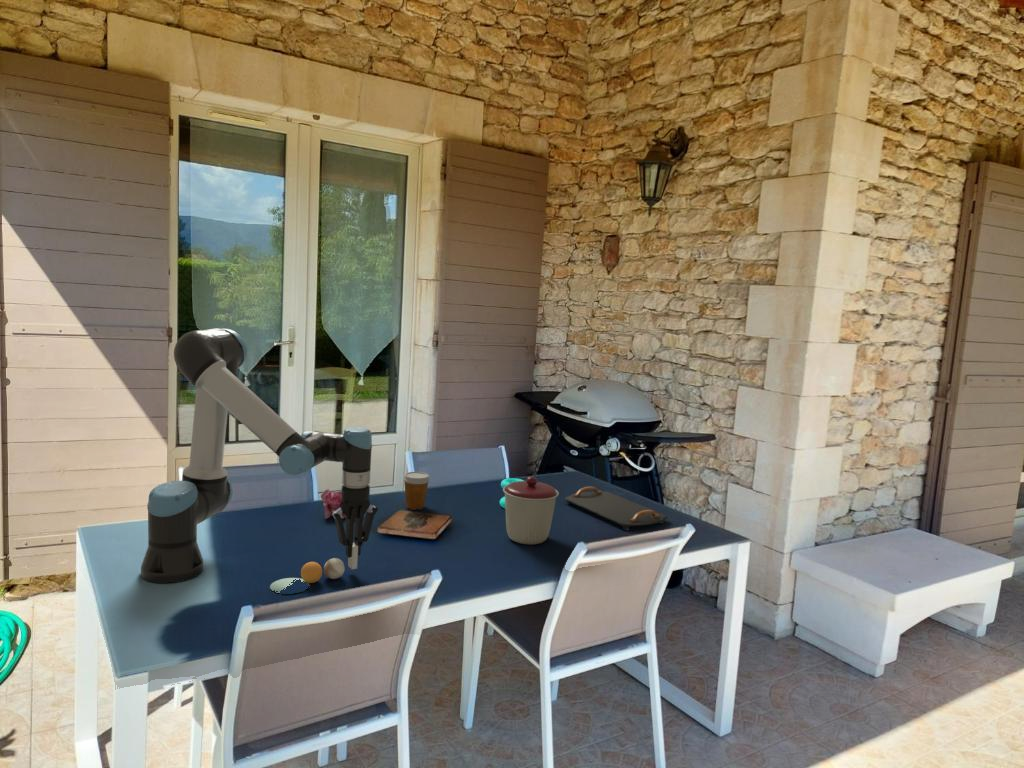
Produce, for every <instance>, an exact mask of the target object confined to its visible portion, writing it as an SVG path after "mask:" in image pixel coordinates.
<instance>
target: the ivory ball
mask: <svg viewBox="0 0 1024 768" xmlns="http://www.w3.org/2000/svg"><path fill="white" fill-rule="evenodd" d="M345 568H346V567H345V563H344V562H343V560H342V559H340V558H338V557H332V558H330V559H328V560H327V561H326V562H325V564H324V566H323V573H324V575H325V576H326V577H327V578H328V579H331V580H336V579H339V578H340V577H342V576H343V575H344V572H345V570H346V569H345Z"/></svg>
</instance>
